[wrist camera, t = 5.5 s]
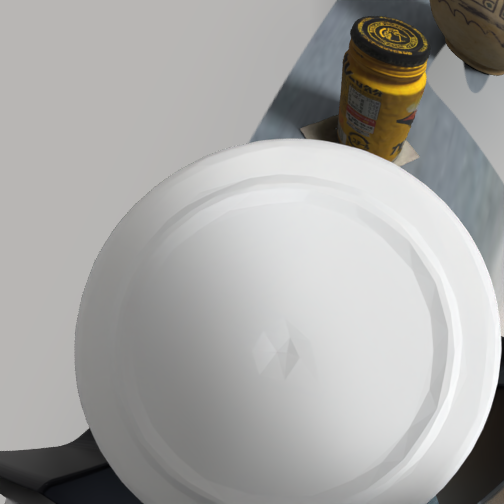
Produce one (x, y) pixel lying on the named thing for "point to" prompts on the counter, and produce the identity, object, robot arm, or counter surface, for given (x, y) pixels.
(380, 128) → the condiment
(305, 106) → the counter surface
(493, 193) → the counter surface
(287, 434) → the sprinkles bottle
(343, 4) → the counter surface
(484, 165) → the counter surface
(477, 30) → the decorative pitcher
